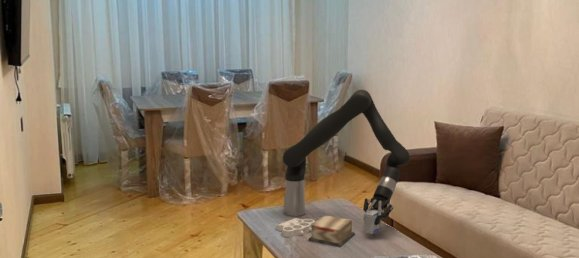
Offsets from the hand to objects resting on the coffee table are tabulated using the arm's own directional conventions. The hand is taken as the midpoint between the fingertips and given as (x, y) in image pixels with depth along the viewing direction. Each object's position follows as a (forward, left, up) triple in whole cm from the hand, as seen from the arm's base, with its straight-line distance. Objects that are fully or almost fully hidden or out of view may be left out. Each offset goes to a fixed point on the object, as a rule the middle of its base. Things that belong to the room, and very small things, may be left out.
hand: (370, 222), depth 252 cm
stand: (-14, -8, -7) cm, 18 cm away
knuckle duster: (-33, -7, -7) cm, 34 cm away
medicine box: (0, +2, -4) cm, 5 cm away
